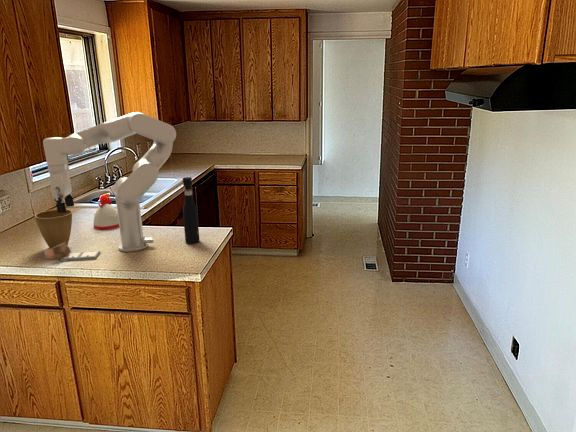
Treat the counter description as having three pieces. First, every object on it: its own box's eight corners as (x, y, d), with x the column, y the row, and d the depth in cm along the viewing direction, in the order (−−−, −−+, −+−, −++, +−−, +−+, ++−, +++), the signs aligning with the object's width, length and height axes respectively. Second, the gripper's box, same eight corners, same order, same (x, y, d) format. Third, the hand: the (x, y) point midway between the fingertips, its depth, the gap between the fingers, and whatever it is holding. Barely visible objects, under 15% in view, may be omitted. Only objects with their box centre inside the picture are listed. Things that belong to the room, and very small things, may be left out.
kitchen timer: (127, 223, 240) (124, 196, 236) (107, 231, 228) (103, 202, 224) (109, 220, 246) (105, 193, 242) (88, 227, 235) (83, 199, 231)
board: (100, 253, 197) (100, 250, 197) (96, 258, 191) (95, 256, 190) (66, 255, 196) (66, 252, 195) (61, 261, 189) (60, 258, 189)
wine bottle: (184, 241, 210) (178, 177, 202) (198, 239, 213) (192, 176, 204) (187, 245, 204) (181, 179, 196) (201, 243, 207) (195, 178, 199)
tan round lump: (63, 254, 197) (61, 246, 196) (58, 259, 192) (57, 251, 191) (48, 255, 197) (47, 247, 196) (43, 260, 191) (42, 252, 190)
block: (71, 252, 194) (65, 241, 192) (66, 256, 190) (60, 245, 188) (63, 254, 194) (57, 244, 193) (58, 258, 191) (52, 248, 189)
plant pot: (39, 254, 197) (32, 219, 192) (42, 244, 210) (36, 211, 206) (76, 249, 202) (71, 215, 198) (77, 240, 215) (72, 207, 211)
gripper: (56, 165, 190) (63, 204, 195) (40, 173, 174) (48, 215, 179) (75, 164, 191) (82, 203, 196) (60, 171, 175) (68, 214, 180)
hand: (66, 209), depth 187 cm, fingers open, 9 cm apart
